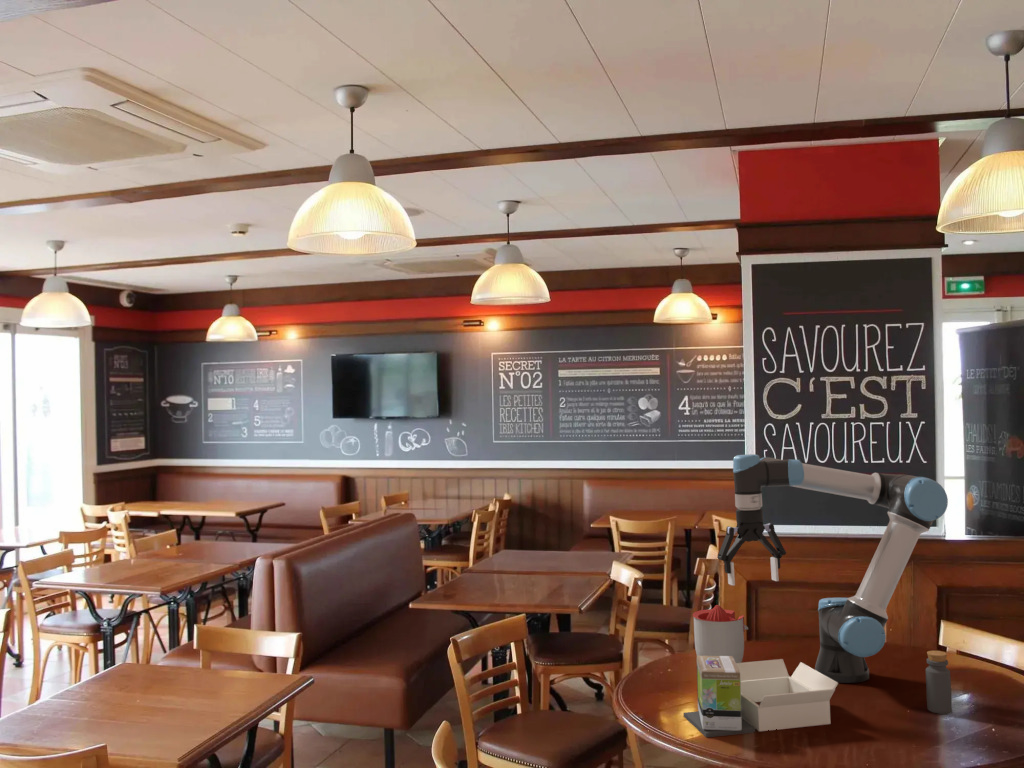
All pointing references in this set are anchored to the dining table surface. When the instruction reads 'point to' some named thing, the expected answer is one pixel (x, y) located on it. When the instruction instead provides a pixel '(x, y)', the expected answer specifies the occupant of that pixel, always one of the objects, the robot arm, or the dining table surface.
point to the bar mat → (696, 722)
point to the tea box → (719, 693)
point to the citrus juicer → (719, 633)
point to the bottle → (938, 683)
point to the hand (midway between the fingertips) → (753, 582)
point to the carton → (784, 695)
